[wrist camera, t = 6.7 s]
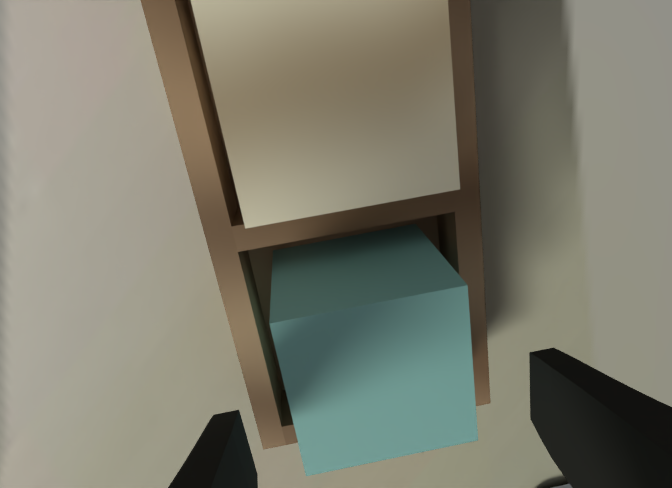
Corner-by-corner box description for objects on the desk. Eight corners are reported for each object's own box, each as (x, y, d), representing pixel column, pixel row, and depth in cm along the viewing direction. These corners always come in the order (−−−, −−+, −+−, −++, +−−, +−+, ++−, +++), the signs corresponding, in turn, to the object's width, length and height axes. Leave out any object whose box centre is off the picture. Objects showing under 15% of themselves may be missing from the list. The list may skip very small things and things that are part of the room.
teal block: (428, 345, 18) (478, 440, 14) (300, 371, 18) (306, 476, 14) (415, 223, 17) (467, 284, 12) (272, 250, 16) (269, 323, 12)
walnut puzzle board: (461, 355, 20) (530, 469, 14) (266, 394, 20) (259, 526, 14) (428, -81, 14) (522, -174, 9) (155, -38, 14) (70, -107, 8)
